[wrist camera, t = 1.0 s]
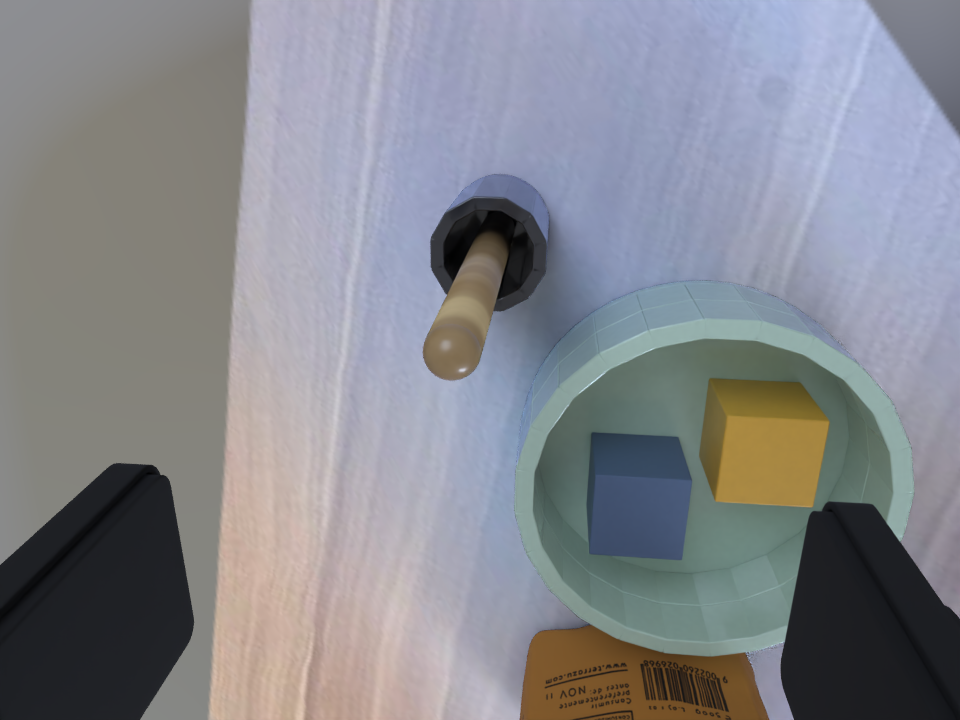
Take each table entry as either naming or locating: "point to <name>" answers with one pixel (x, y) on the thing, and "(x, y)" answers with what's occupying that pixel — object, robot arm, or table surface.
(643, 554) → the block
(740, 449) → the block
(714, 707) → the coffee package
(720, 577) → the bowl
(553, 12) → the table surface
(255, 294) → the table surface
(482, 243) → the stick
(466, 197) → the holder
